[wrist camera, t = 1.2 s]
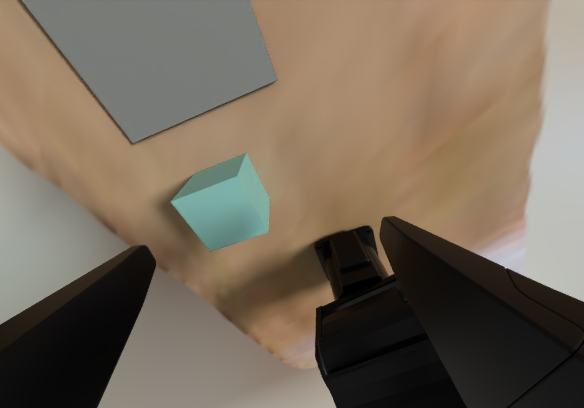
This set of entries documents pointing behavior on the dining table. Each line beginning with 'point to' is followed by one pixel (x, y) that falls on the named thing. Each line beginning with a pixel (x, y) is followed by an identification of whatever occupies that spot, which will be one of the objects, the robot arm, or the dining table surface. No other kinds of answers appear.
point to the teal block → (225, 203)
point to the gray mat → (159, 55)
